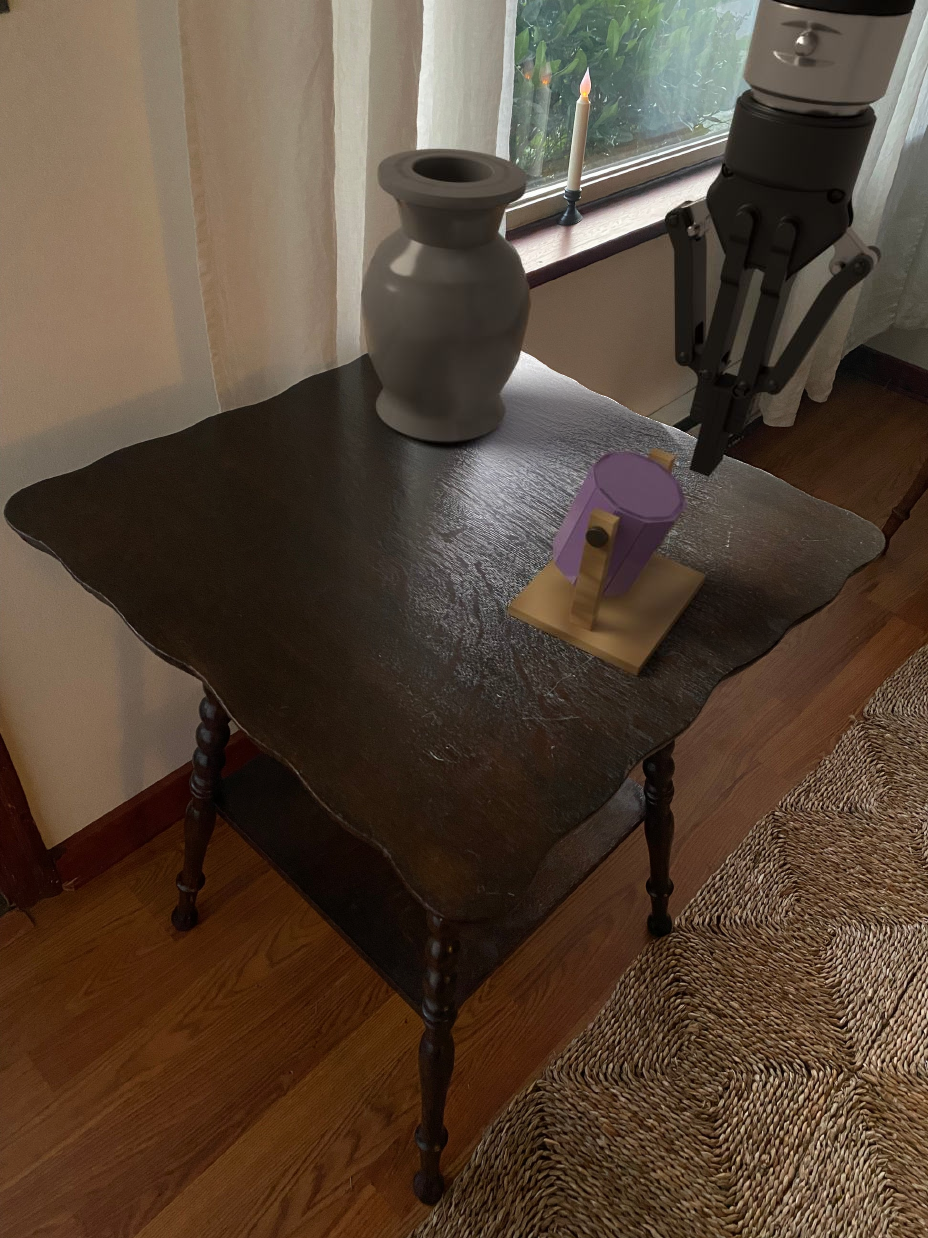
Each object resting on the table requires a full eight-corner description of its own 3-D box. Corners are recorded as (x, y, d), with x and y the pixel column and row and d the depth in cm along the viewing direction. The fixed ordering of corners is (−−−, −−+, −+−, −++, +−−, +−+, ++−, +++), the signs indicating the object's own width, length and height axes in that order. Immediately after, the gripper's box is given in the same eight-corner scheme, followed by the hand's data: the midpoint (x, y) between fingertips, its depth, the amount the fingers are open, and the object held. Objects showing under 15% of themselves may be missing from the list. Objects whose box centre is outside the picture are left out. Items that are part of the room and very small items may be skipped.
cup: (624, 433, 73) (583, 510, 79) (571, 484, 67) (532, 562, 74) (702, 486, 71) (654, 559, 78) (656, 542, 66) (608, 616, 72)
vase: (348, 383, 101) (341, 142, 84) (488, 369, 106) (509, 137, 88) (384, 464, 90) (384, 205, 73) (539, 445, 94) (574, 196, 77)
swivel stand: (703, 583, 80) (740, 470, 71) (636, 676, 71) (670, 559, 63) (584, 532, 84) (606, 419, 76) (507, 613, 75) (522, 497, 67)
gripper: (671, 86, 49) (602, 457, 65) (916, 135, 44) (776, 522, 60) (721, 64, 53) (645, 414, 69) (947, 106, 49) (809, 472, 65)
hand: (705, 464), depth 65 cm, fingers closed
